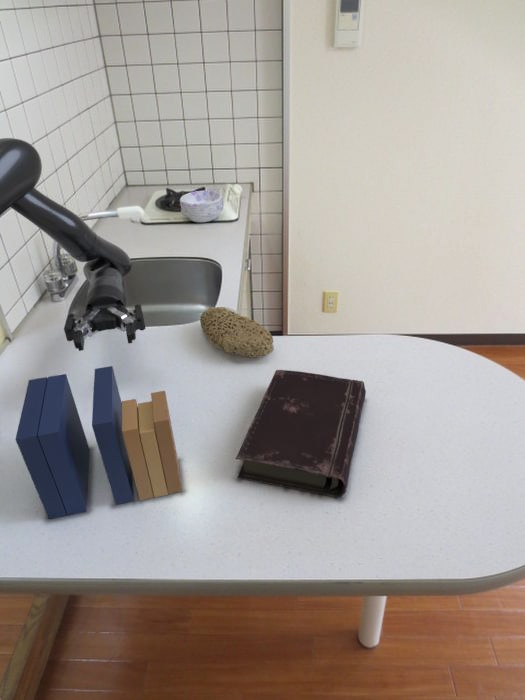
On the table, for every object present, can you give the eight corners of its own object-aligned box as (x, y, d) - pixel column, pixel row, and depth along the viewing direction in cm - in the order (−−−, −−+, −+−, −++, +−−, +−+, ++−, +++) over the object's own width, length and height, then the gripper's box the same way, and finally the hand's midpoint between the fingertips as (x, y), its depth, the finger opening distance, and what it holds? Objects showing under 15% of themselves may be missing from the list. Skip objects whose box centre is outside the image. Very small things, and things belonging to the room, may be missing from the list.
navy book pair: (48, 519, 81) (15, 439, 72) (56, 456, 93) (28, 379, 83) (86, 511, 82) (58, 431, 73) (89, 450, 94) (66, 373, 84)
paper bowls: (181, 227, 183) (178, 205, 179) (183, 212, 196) (180, 191, 191) (224, 224, 184) (223, 202, 179) (224, 209, 196) (222, 188, 192)
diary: (365, 400, 102) (367, 380, 99) (345, 500, 82) (347, 478, 79) (272, 387, 106) (271, 367, 104) (232, 478, 87) (230, 456, 84)
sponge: (196, 336, 126) (220, 365, 108) (196, 305, 123) (221, 329, 106) (247, 333, 130) (279, 361, 113) (249, 303, 128) (281, 326, 111)
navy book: (115, 505, 83) (91, 425, 74) (115, 444, 94) (94, 368, 85) (133, 501, 84) (112, 421, 74) (131, 441, 95) (112, 365, 85)
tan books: (139, 500, 84) (121, 428, 75) (138, 469, 89) (120, 398, 81) (182, 491, 85) (168, 419, 76) (178, 461, 91) (165, 390, 82)
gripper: (65, 288, 102) (57, 330, 89) (138, 279, 105) (142, 318, 92) (74, 322, 107) (68, 366, 93) (145, 311, 109) (149, 353, 96)
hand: (104, 342), depth 93 cm, fingers open, 8 cm apart
